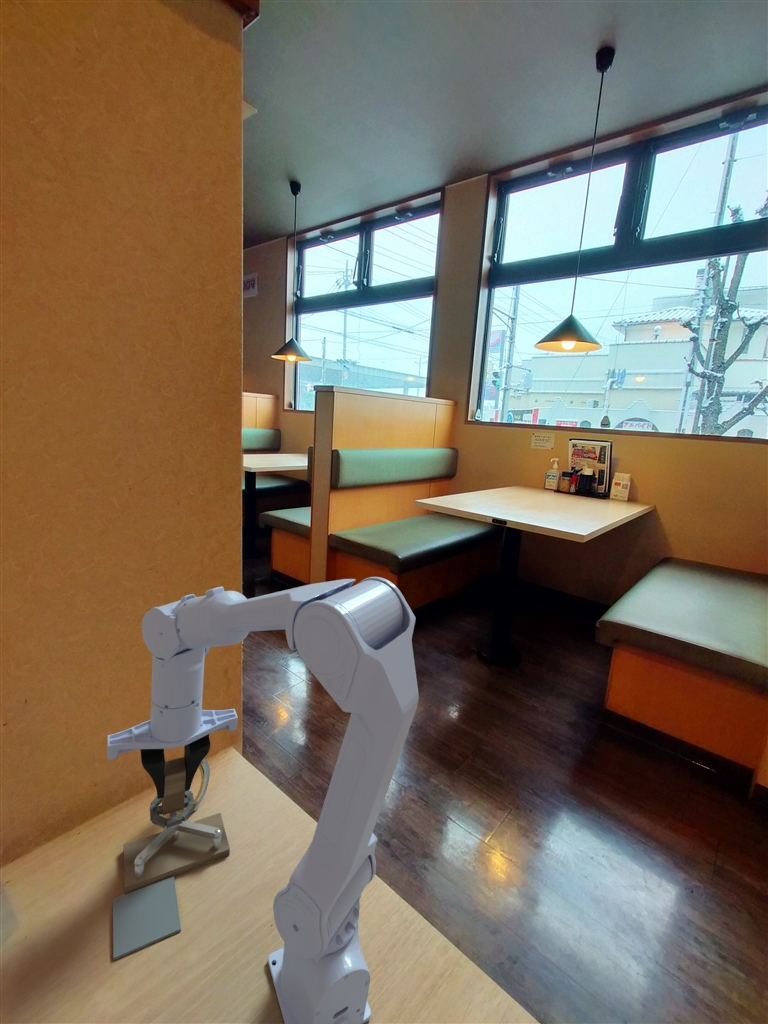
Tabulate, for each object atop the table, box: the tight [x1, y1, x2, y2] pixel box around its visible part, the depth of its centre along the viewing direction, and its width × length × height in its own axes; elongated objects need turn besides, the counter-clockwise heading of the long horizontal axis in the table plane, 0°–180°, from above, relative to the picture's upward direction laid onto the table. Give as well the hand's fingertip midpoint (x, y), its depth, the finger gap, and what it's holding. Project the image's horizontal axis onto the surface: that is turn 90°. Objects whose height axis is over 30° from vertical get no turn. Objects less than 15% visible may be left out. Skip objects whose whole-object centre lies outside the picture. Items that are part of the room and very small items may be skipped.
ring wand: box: [149, 756, 195, 829], centre depth 58 cm, size 5×5×7 cm
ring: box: [177, 757, 211, 815], centre depth 65 cm, size 7×3×8 cm, turn 162°
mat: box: [112, 876, 182, 961], centre depth 52 cm, size 6×6×1 cm
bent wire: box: [134, 819, 222, 879], centre depth 59 cm, size 5×10×4 cm, turn 121°
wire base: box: [123, 812, 231, 895], centre depth 59 cm, size 6×12×1 cm, turn 121°
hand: (173, 788), depth 58 cm, fingers closed on ring wand, 2 cm apart
